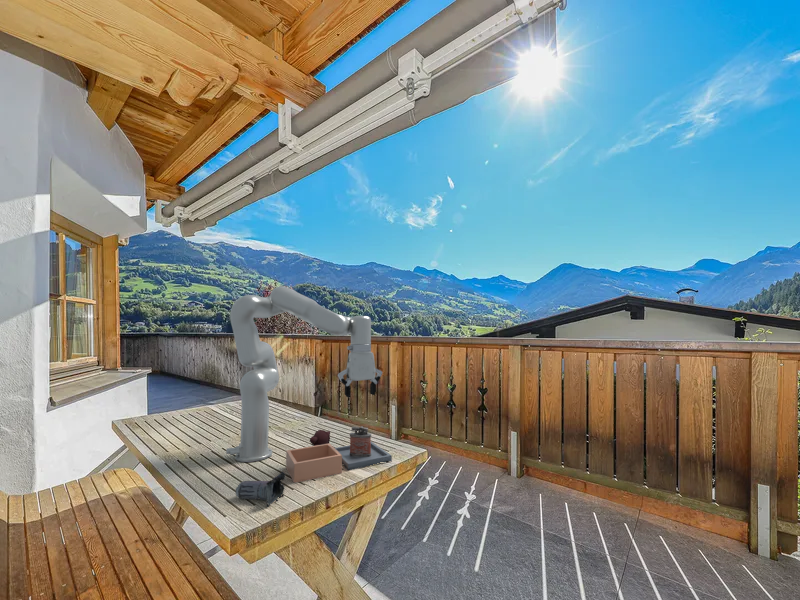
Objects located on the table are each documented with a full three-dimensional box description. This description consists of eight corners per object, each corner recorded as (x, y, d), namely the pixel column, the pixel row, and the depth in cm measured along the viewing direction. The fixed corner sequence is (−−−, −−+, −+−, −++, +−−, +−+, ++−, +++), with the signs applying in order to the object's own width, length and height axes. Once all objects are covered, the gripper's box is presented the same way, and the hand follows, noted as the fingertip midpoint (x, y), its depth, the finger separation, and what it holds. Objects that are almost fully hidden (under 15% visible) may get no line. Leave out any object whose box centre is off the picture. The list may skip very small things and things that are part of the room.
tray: (348, 470, 112) (348, 464, 112) (332, 453, 128) (332, 448, 128) (391, 461, 119) (391, 455, 120) (371, 446, 135) (371, 441, 135)
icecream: (320, 425, 144) (301, 439, 130) (335, 421, 143) (317, 435, 128) (324, 441, 144) (305, 457, 129) (339, 438, 142) (322, 453, 128)
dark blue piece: (285, 500, 95) (246, 500, 97) (287, 470, 97) (249, 470, 99) (267, 510, 86) (224, 509, 88) (269, 477, 89) (228, 476, 91)
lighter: (372, 454, 124) (372, 426, 125) (369, 457, 121) (369, 428, 122) (351, 453, 126) (351, 425, 127) (348, 456, 123) (348, 427, 124)
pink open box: (294, 482, 103) (294, 463, 103) (286, 467, 115) (286, 450, 116) (341, 472, 110) (341, 455, 110) (329, 459, 122) (329, 443, 123)
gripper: (341, 349, 120) (341, 399, 118) (386, 348, 128) (386, 395, 126) (335, 349, 127) (334, 396, 125) (377, 348, 135) (377, 392, 133)
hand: (360, 395), depth 126 cm, fingers open, 9 cm apart
